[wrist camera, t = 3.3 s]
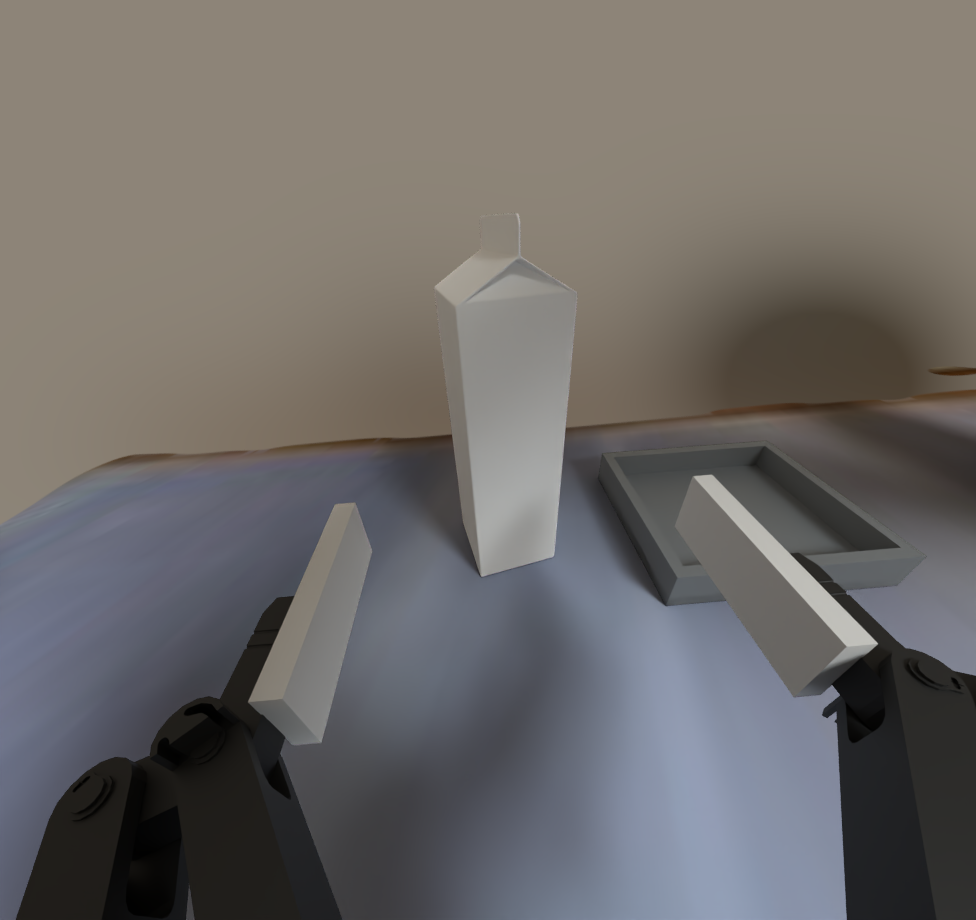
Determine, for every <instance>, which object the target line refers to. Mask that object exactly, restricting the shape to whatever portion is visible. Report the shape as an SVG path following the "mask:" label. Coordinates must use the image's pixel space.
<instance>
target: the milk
mask: <svg viewBox="0 0 976 920" xmlns="http://www.w3.org/2000/svg"><path fill="white" fill-rule="evenodd" d="M480 237H481V249H480V250H479V251H477V252H476V253H475V254H474V255H473V256H472V257H470V258H469V259H468V260H466V261H465V262H464V263H463V264H462V265H460V266H459V267H458V268H457V269H456V270H454V271H453V272H452V273H451V274H449V275H448V276H447V277H446V278H445V279H443V280H442V281H441V282H440V283H438V284H437V285H436V286H435V287H434V293H435V301H436V308H437V317H438V324H439V333H440V341H441V348H442V357H443V365H444V372H445V381H446V389H447V397H448V405H449V412H450V422H451V429H452V438H453V446H454V454H455V462H456V470H457V478H458V486H459V494H460V502H461V510H462V518H463V524H464V527H465V530H466V533H467V536H468V539H469V542H470V545H471V548H472V551H473V554H474V557H475V561H476V564H477V567H478V570H479V573H480V576H481V577H483V576H487V575H491V574H494V573H498V572H501V571H505V570H509V569H512V568H516V567H519V566H523V565H527V564H530V563H534V562H537V561H541V560H545V559H548V558H552V557H554V551H555V540H556V529H557V518H558V507H559V496H560V485H561V474H562V462H563V451H564V440H565V429H566V418H567V417H566V416H567V405H568V395H569V384H570V372H571V362H572V351H573V340H574V328H575V318H576V307H577V292H576V291H574V290H573V289H571V288H570V287H568V286H567V285H565V284H563V283H562V282H560V281H558V280H557V279H556V278H554V277H553V276H551V275H549V274H548V273H546V272H545V271H543V270H542V269H540V268H538V267H537V266H535V265H534V264H532V263H530V262H529V261H527V260H526V259H524V258H523V257H521V254H520V218H519V214H518V213H512V214H498V215H485V216H481V217H480Z"/></svg>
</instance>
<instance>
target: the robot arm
mask: <svg viewBox="0 0 976 920" xmlns="http://www.w3.org/2000/svg"><path fill="white" fill-rule="evenodd" d="M675 527H676V529H677V530H678V532H679V533H680V535H681V536H682V538H683V539H684V540H685V542H686V543H687V545H688V546H689V548H690V549H691V550H692V552H693V553H694V555H695V556H696V558H697V559H698V560H699V562H700V563H701V565H702V566H703V568H704V569H705V571H706V572H707V573H708V575H709V576H710V578H711V579H712V581H713V582H714V583H715V585H716V586H717V588H718V589H719V591H720V592H721V593H722V595H723V596H724V598H725V599H726V601H727V602H728V604H729V605H730V606H731V608H732V609H733V611H734V612H735V614H736V615H737V616H738V618H739V619H740V621H741V622H742V624H743V625H744V626H745V628H746V629H747V631H748V632H749V634H750V635H751V637H752V638H753V639H754V641H755V642H756V644H757V645H758V647H759V648H760V649H761V651H762V652H763V654H764V655H765V657H766V658H767V659H768V661H769V662H770V664H771V665H772V667H773V668H774V670H775V671H776V672H777V674H778V675H779V677H780V678H781V680H782V681H783V682H784V684H785V685H786V687H787V688H788V690H789V691H790V692H791V694H792V695H793V697H804V696H814V695H821V694H822V693H823V692H824V691H825V690H827V689H828V688H829V687H830V686H831V685H833V686H834V688H835V689H836V690H837V692H838V693H839V694H840V696H839V697H838V698H836V699H835V700H834V701H833V702H832V703H830V704H829V705H828V706H827V707H826V708H824V710H823V714H822V716H824V717H826V718H828V717H829V716H831V715H832V714H833V713H834V712H837V719H836V720H835V722H836V723H837V732H838V752H839V772H840V792H841V812H842V832H843V852H844V872H845V892H846V912H847V920H976V676H974V675H970V674H965V673H960V672H956V671H953V670H951V669H950V668H949V667H947V666H946V665H944V664H943V663H942V662H940V661H939V660H937V659H935V658H933V657H931V656H929V655H927V654H925V653H923V652H919V651H916V650H913V649H906V648H904V647H903V646H902V645H901V644H900V643H899V642H897V641H896V640H895V639H894V638H893V637H892V636H891V635H890V634H889V633H888V632H887V631H886V630H885V629H884V628H883V627H882V626H881V625H880V624H879V623H878V622H877V621H876V620H875V619H874V618H872V617H871V616H870V615H869V614H868V613H867V612H866V611H865V610H864V609H863V608H862V607H861V606H860V605H859V604H858V603H857V602H856V601H855V600H854V599H853V598H852V597H851V596H850V595H847V594H846V591H845V590H844V589H843V588H841V587H840V586H839V585H838V584H837V583H834V582H833V579H832V578H831V577H830V576H829V575H828V574H827V573H826V572H825V571H824V570H823V569H822V568H821V567H820V566H819V565H817V564H816V563H814V562H813V561H811V560H810V559H808V558H806V557H805V556H803V555H802V554H800V553H799V552H798V553H789V552H788V551H787V550H786V549H785V548H784V547H783V546H782V545H781V544H780V543H779V542H778V541H777V540H776V539H775V538H774V537H773V536H772V535H771V534H770V533H769V532H768V531H767V530H766V529H765V528H764V527H763V526H762V525H761V524H760V523H759V522H758V521H757V520H756V519H755V518H754V517H753V516H752V515H751V514H750V513H749V512H748V511H747V510H746V509H745V508H744V507H743V506H742V505H741V504H740V503H739V502H738V501H737V500H736V499H735V498H734V497H733V496H732V495H731V493H730V492H729V491H728V490H727V489H726V488H725V487H724V486H723V485H722V484H721V483H720V482H719V481H718V480H717V479H716V478H715V477H714V476H713V475H701V476H693V477H692V480H691V482H690V485H689V488H688V491H687V494H686V496H685V499H684V502H683V505H682V507H681V510H680V513H679V516H678V518H677V521H676V524H675ZM371 554H372V549H371V546H370V543H369V540H368V537H367V535H366V532H365V529H364V526H363V523H362V520H361V518H360V515H359V512H358V509H357V506H356V503H345V504H335V505H334V508H333V510H332V512H331V515H330V517H329V519H328V521H327V524H326V526H325V528H324V530H323V533H322V535H321V537H320V540H319V542H318V544H317V546H316V549H315V551H314V553H313V555H312V558H311V560H310V562H309V565H308V567H307V569H306V571H305V574H304V576H303V578H302V580H301V583H300V585H299V587H298V590H297V592H296V594H295V596H291V597H279V598H276V599H275V601H274V602H273V603H272V604H271V605H270V606H269V607H268V608H267V609H266V611H265V612H264V613H263V614H262V616H261V618H260V620H259V622H258V624H257V626H256V628H255V630H254V634H253V635H252V636H251V638H250V640H249V642H248V644H247V649H245V650H244V652H243V654H242V656H241V658H240V660H239V662H238V664H237V666H236V668H235V670H234V672H233V674H232V676H231V678H230V680H229V682H228V684H227V686H226V688H225V690H224V692H223V694H222V696H221V698H220V700H219V699H217V698H213V697H204V698H199V699H196V700H194V701H192V702H190V703H188V704H186V705H184V706H183V707H181V708H180V709H179V710H178V711H177V712H175V713H174V714H173V715H172V716H171V717H170V718H169V719H168V720H167V721H166V723H165V724H164V725H163V726H162V727H161V729H160V730H159V731H158V733H157V735H156V737H155V739H154V741H153V743H152V745H151V751H150V756H148V757H145V758H143V759H141V760H139V761H136V762H133V761H131V760H129V759H127V758H121V757H114V758H111V759H108V760H106V761H103V762H101V763H99V764H97V765H96V766H94V767H93V768H91V769H90V770H88V771H87V772H85V773H84V774H83V775H82V776H81V777H80V778H79V779H78V780H77V781H76V782H74V783H73V784H72V785H71V786H70V787H69V789H68V790H67V791H66V793H65V794H64V795H63V796H62V798H61V799H60V800H59V802H58V803H57V805H56V807H55V809H54V811H53V813H52V815H51V817H50V819H49V821H48V824H47V827H46V830H45V833H44V836H43V839H42V842H41V845H40V848H39V851H38V854H37V857H36V860H35V863H34V866H33V869H32V872H31V875H30V878H29V881H28V884H27V887H26V890H25V893H24V896H23V899H22V902H21V905H20V908H19V911H18V914H17V917H16V920H186V912H187V900H188V889H189V884H190V891H191V897H192V904H193V910H194V917H195V920H342V917H341V915H340V912H339V909H338V907H337V904H336V901H335V899H334V896H333V893H332V890H331V888H330V885H329V882H328V880H327V877H326V874H325V872H324V869H323V866H322V863H321V861H320V858H319V855H318V853H317V850H316V847H315V845H314V842H313V839H312V836H311V834H310V831H309V828H308V826H307V823H306V820H305V818H304V815H303V812H302V809H301V807H300V804H299V801H298V799H297V796H296V793H295V791H294V788H293V785H292V782H291V780H290V777H289V774H288V772H287V769H286V766H285V764H284V761H283V758H282V757H281V755H280V751H281V748H282V745H283V742H284V739H285V738H286V739H287V740H288V741H289V742H290V743H291V744H292V745H293V746H294V745H304V744H314V743H322V739H323V735H324V731H325V728H326V724H327V720H328V716H329V713H330V709H331V705H332V701H333V697H334V694H335V690H336V686H337V682H338V679H339V675H340V671H341V667H342V664H343V660H344V656H345V652H346V648H347V645H348V641H349V637H350V633H351V630H352V626H353V622H354V618H355V615H356V611H357V607H358V603H359V600H360V596H361V592H362V588H363V584H364V581H365V577H366V573H367V569H368V566H369V562H370V558H371Z"/></svg>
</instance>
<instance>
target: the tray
mask: <svg viewBox="0 0 976 920" xmlns="http://www.w3.org/2000/svg"><path fill="white" fill-rule="evenodd" d="M701 475H713V476H714V477H715V478H716V479H717V480H718V481H719V482H720V483H721V484H722V485H723V486H724V487H725V488H726V489H727V490H728V491H729V492H730V493H731V495H732V496H733V497H734V498H735V499H736V500H737V501H738V502H739V503H740V504H741V505H742V506H743V507H744V508H745V509H746V510H747V511H748V512H749V513H750V514H751V515H752V516H753V517H754V518H755V519H756V520H757V521H758V522H759V523H760V524H761V525H762V526H763V527H764V528H765V529H766V530H767V531H768V532H769V533H770V534H771V535H772V536H773V537H774V538H775V539H776V540H777V541H778V542H779V543H780V544H781V545H782V546H783V547H784V548H785V549H786V550H787V551H788V552H789V553H798V552H799V553H800V554H802V555H803V556H805V557H806V558H808V559H810V560H811V561H813V562H814V563H816V564H817V565H819V566H820V567H821V568H822V569H823V570H824V571H825V572H826V573H827V574H828V575H829V576H830V577H831V578H832V579H833V582H834V583H837V584H838V585H839V586H840V587H841V588H843V589H844V590H853V589H864V588H876V587H887V586H897V585H898V584H899V583H900V582H901V581H902V580H903V579H904V578H905V577H906V576H907V575H908V574H909V573H910V572H911V571H912V570H913V569H914V568H915V567H917V566H918V565H919V564H920V563H921V562H922V561H923V560H924V559H925V558H926V557H927V556H926V555H924V554H923V553H921V552H920V551H919V550H917V549H916V548H914V547H913V546H912V545H910V544H909V543H908V542H906V541H905V540H903V539H902V538H901V537H899V536H898V535H897V534H895V533H894V532H892V531H891V530H890V529H888V528H887V527H885V526H884V525H883V524H881V523H880V522H879V521H877V520H876V519H874V518H873V517H872V516H870V515H869V514H868V513H866V512H865V511H863V510H862V509H861V508H859V507H858V506H857V505H855V504H854V503H852V502H851V501H850V500H848V499H847V498H845V497H844V496H843V495H841V494H840V493H839V492H837V491H836V490H834V489H833V488H832V487H830V486H829V485H828V484H826V483H825V482H823V481H822V480H821V479H819V478H818V477H816V476H815V475H814V474H812V473H811V472H810V471H808V470H807V469H805V468H804V467H803V466H801V465H800V464H799V463H797V462H796V461H794V460H793V459H792V458H790V457H789V456H788V455H786V454H785V453H783V452H782V451H781V450H779V449H778V448H776V447H775V446H774V445H772V444H771V443H770V442H768V441H756V442H743V443H730V444H717V445H704V446H691V447H678V448H665V449H652V450H639V451H626V452H613V453H602V459H601V465H600V471H599V477H598V479H599V481H600V483H601V484H602V486H603V488H604V490H605V492H606V494H607V496H608V498H609V500H610V501H611V503H612V505H613V507H614V509H615V511H616V513H617V515H618V517H619V518H620V520H621V522H622V524H623V526H624V528H625V530H626V532H627V534H628V535H629V537H630V539H631V541H632V543H633V545H634V547H635V549H636V551H637V552H638V554H639V556H640V558H641V560H642V562H643V564H644V566H645V568H646V569H647V571H648V573H649V575H650V577H651V579H652V581H653V583H654V585H655V586H656V588H657V590H658V592H659V594H660V596H661V598H662V600H663V602H664V603H665V605H666V606H671V605H682V604H694V603H705V602H716V601H726V599H725V598H724V596H723V595H722V593H721V592H720V591H719V589H718V588H717V586H716V585H715V583H714V582H713V581H712V579H711V578H710V576H709V575H708V573H707V572H706V571H705V569H704V568H703V566H702V565H701V563H700V562H699V560H698V559H697V558H696V556H695V555H694V553H693V552H692V550H691V549H690V548H689V546H688V545H687V543H686V542H685V540H684V539H683V538H682V536H681V535H680V533H679V532H678V530H677V529H676V527H675V524H676V521H677V518H678V516H679V513H680V510H681V507H682V505H683V502H684V499H685V496H686V494H687V491H688V488H689V485H690V482H691V480H692V477H693V476H701Z"/></svg>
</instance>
